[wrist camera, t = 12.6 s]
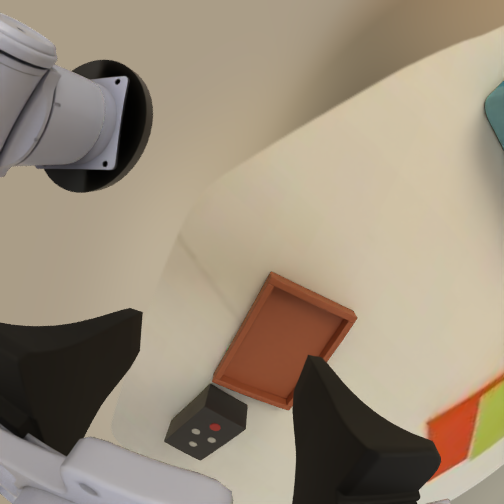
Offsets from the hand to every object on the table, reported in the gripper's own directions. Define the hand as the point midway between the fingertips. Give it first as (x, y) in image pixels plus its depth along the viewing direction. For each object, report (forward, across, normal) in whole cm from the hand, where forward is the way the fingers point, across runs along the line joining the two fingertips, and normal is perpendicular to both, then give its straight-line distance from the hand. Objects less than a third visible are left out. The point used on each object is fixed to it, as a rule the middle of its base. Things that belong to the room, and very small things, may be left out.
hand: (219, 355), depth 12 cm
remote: (+10, 0, +14) cm, 17 cm away
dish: (+10, -4, +4) cm, 11 cm away
